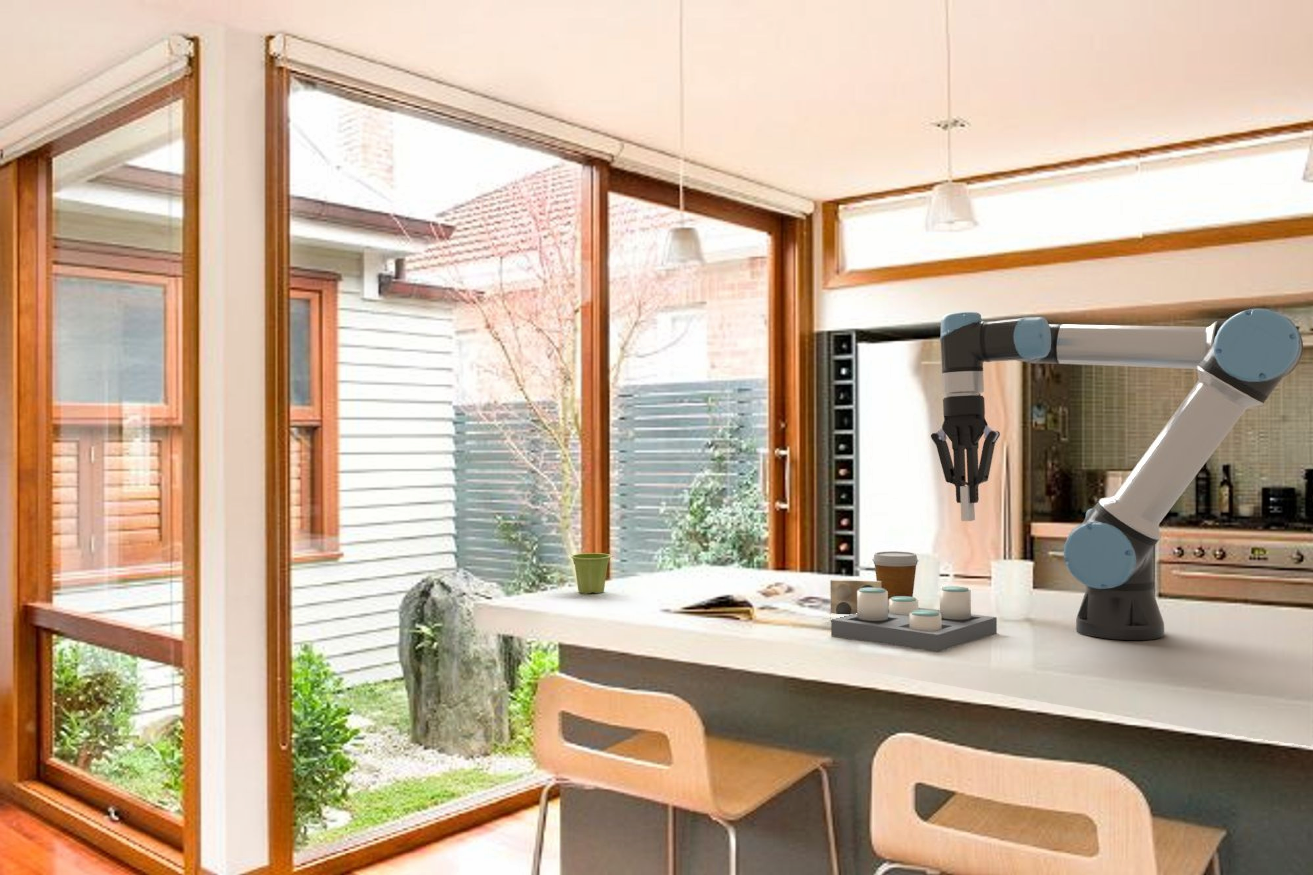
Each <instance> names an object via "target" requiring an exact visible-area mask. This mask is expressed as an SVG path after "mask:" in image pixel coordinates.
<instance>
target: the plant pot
mask: <svg viewBox="0 0 1313 875" xmlns="http://www.w3.org/2000/svg"><path fill="white" fill-rule="evenodd" d="M611 557H612V555H611V554H609V553H608V554H607V553H600V552H598V553H597V552H591V553H584V552H583V553H576V554H573V555H571V559H572V560H573V565H574V568H575V570H574V571H575V577H576V584H577V591H578V592H579V593H580V594H591V593H595V594H601V593H604V592H605V587H606V586H605V585H606V578H607V570H608V564H609V561H610V558H611Z"/></svg>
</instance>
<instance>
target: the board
mask: <svg viewBox="0 0 1313 875" xmlns="http://www.w3.org/2000/svg"><path fill="white" fill-rule="evenodd" d="M918 610H932V611H937V612H939V613H940V609H933V608H926V607H918ZM997 621H998V619H997V617H996V616H990V615H982V614H974V613H971V618H969V619H962V620H955V619H945V618H941V622H942V629H941V630H937V631H934V632H932V631H925V630H918V629H910V628H909V616H908V615H900V614H893V613H889V606H888V619H887V620H882V621H868V620H861V619H858V618H857V614H853V615H849V616H844V617H840V618H836V619H832V620H831V619H830V624H831V625H830V632H831V633H830V635H831V637H837V638H842V639H843V638H845V639H848V640H849V639H850V640H857V641H864V642H870V643H877V644H881V645H889V646H896V647H902V648H908V649H909V648H910V649H915V650H920V651H921V650H922V651H927V652H934V653H940V652H943V651H946V650H950V649H952V648H956V647H958V646H962V645H965V644H968V643H972V642H974V641H977V640H980V639H983V638H987V637H990V636H993V635H995V634H997V632H998V631H997V630H998V629H997V628H998V627H997V625H998V624H997V623H998V622H997Z"/></svg>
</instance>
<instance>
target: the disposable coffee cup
mask: <svg viewBox="0 0 1313 875" xmlns="http://www.w3.org/2000/svg"><path fill="white" fill-rule="evenodd" d="M871 560H872V562H873V564H874V572H875V578H876V580H875V581H881V588H883V589H885V590H886V591H888V606H889V599H891V597H895V596H909V597H914V589H915V579H916V571H917V570H916V569H917V565H918V562H919V559H918V557H917V554H916V553H915V552H910V551H897V550H896V551H877V552H874V554H873V558H872V559H871Z"/></svg>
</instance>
